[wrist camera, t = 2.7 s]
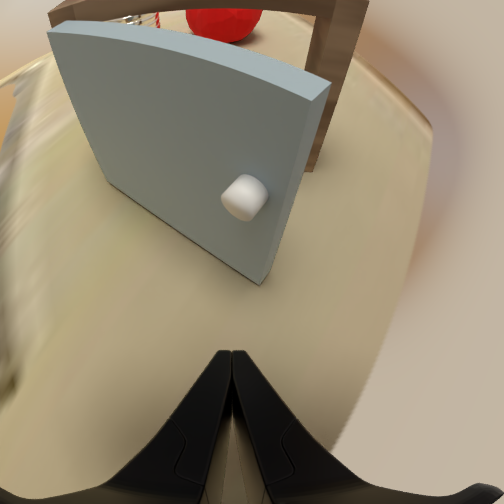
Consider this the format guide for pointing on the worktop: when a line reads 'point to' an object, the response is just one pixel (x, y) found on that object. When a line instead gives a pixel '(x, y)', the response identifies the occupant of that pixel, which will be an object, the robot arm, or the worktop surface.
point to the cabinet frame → (309, 3)
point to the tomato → (222, 23)
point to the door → (195, 130)
